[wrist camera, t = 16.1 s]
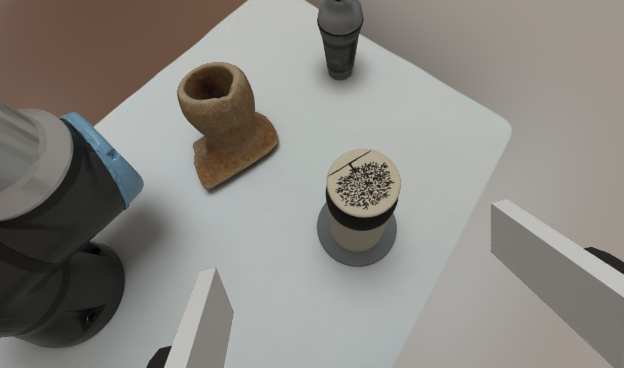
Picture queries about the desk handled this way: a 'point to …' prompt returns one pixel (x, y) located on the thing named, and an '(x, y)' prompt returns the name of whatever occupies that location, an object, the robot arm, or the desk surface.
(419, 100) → the desk surface
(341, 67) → the beverage cup
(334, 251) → the mat
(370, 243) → the travel mug
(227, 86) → the stone cup
